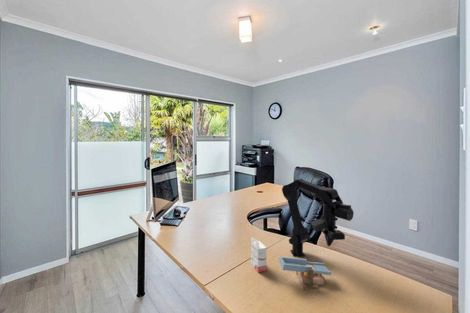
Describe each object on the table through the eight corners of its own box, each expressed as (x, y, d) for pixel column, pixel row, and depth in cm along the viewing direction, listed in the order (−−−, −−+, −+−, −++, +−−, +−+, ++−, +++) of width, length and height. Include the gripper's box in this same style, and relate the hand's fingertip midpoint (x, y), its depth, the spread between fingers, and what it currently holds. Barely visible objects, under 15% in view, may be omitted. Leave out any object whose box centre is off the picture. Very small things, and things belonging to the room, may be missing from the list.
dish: (317, 275, 106) (317, 269, 105) (324, 284, 98) (324, 278, 98) (297, 275, 105) (297, 270, 105) (302, 285, 98) (302, 279, 98)
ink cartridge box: (267, 270, 110) (267, 241, 108) (258, 273, 108) (258, 243, 107) (259, 261, 118) (259, 234, 116) (250, 263, 116) (250, 236, 115)
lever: (323, 266, 106) (324, 260, 105) (331, 275, 98) (332, 269, 98) (278, 261, 104) (279, 256, 104) (283, 270, 97) (284, 264, 97)
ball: (305, 278, 103) (301, 273, 103) (311, 273, 103) (306, 268, 103) (308, 283, 100) (303, 277, 100) (314, 278, 100) (309, 272, 100)
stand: (308, 272, 108) (308, 257, 107) (318, 288, 96) (318, 271, 96) (295, 273, 107) (296, 257, 107) (304, 289, 96) (304, 271, 95)
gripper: (306, 209, 117) (305, 238, 118) (321, 222, 99) (320, 256, 100) (326, 208, 118) (326, 237, 119) (346, 221, 99) (345, 255, 100)
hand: (328, 245), depth 110 cm, fingers closed
